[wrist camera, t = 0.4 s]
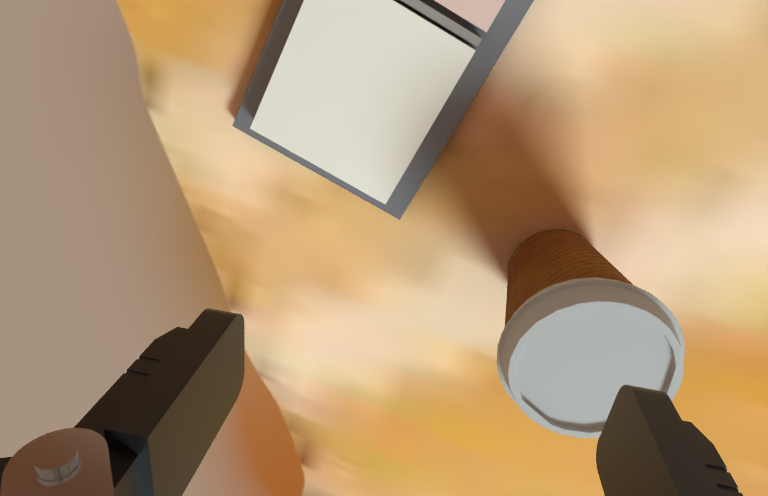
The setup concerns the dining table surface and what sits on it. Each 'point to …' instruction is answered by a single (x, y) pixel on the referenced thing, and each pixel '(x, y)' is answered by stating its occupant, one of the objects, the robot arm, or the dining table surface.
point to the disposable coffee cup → (581, 335)
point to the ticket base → (370, 88)
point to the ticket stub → (475, 10)
